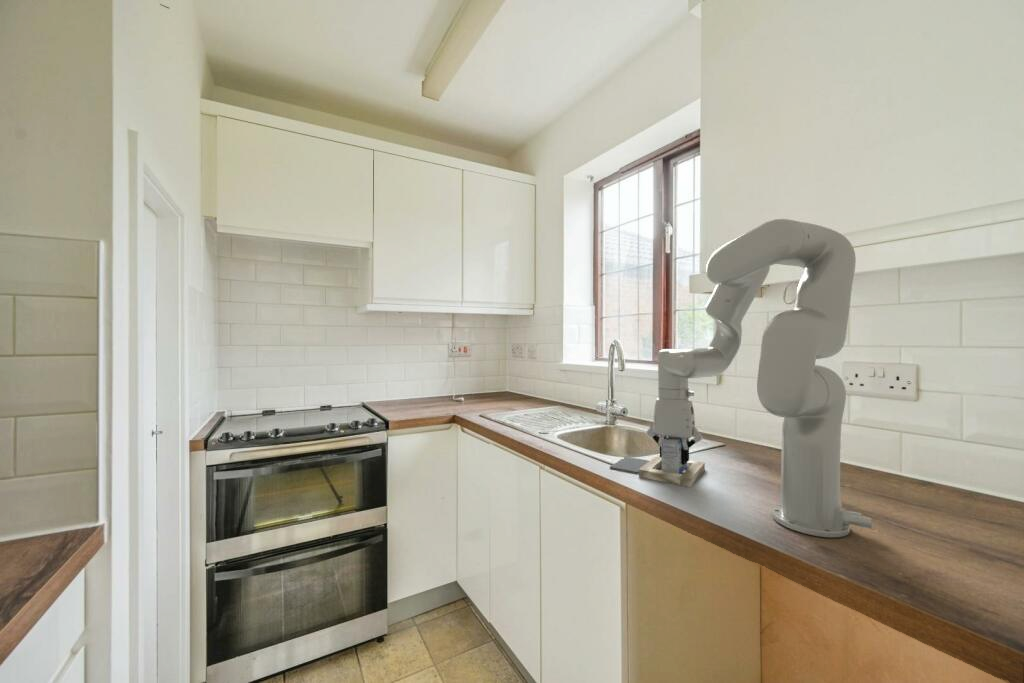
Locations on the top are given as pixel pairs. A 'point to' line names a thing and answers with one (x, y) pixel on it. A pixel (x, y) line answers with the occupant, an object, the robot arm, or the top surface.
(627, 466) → the rubber mat
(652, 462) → the pocket board
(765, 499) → the top surface
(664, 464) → the medicine box
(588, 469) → the top surface
